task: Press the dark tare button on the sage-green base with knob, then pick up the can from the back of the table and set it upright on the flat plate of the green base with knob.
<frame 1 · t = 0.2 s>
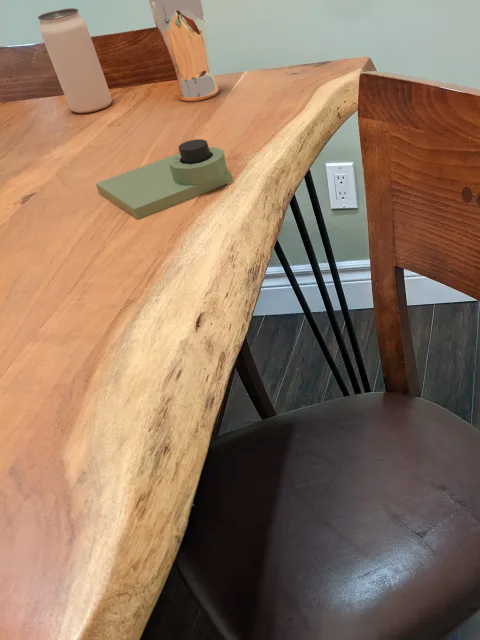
beer glass: (200, 96, 104), on the table
can: (92, 108, 106), on the table
tare button: (195, 152, 77), point 3 cm above the table, slide at 0.1 cm
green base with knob: (165, 188, 80), on the table
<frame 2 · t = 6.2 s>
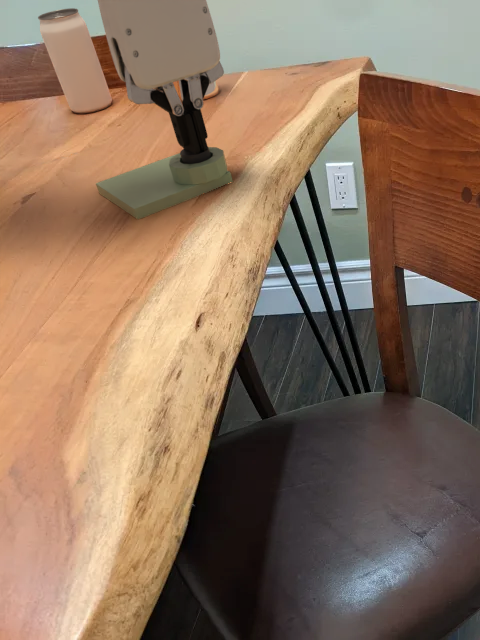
hand: (195, 149, 77), 4 cm above the table, tool pointing down, fingers closed
tare button: (196, 158, 77), point 3 cm above the table, slide at -0.5 cm, touching gripper
everything else where it was.
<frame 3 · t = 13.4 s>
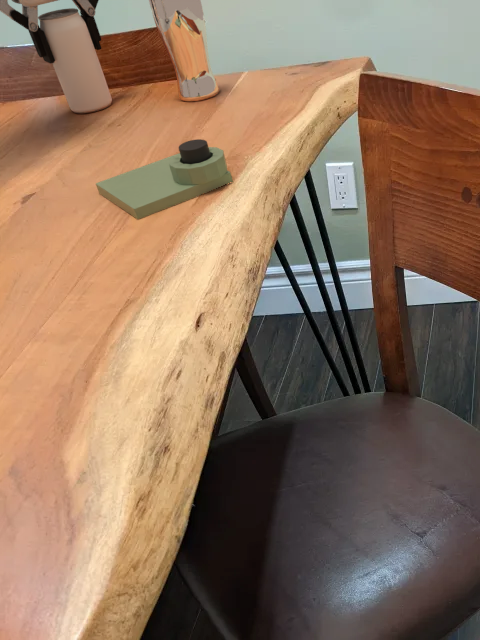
hand: (72, 53, 101), 7 cm above the table, tool pointing down, fingers closed on can, 6 cm apart
can: (92, 108, 106), on the table, touching gripper
tare button: (195, 152, 77), point 3 cm above the table, slide at 0.1 cm
everything else where it was.
when the fingers open (8 cm above the table, at t = 22.2 s): can stays where it is, resting on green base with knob.
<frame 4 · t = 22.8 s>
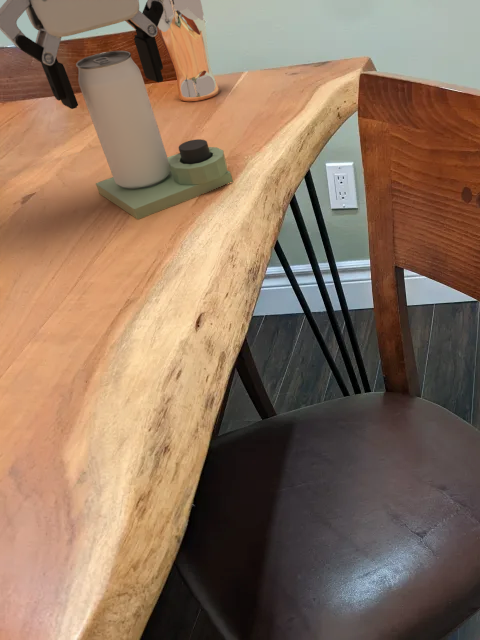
hand: (113, 92, 73), 10 cm above the table, tool pointing down, fingers open, 9 cm apart
can: (144, 180, 79), point 1 cm above the table, touching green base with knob
everything else where it was.
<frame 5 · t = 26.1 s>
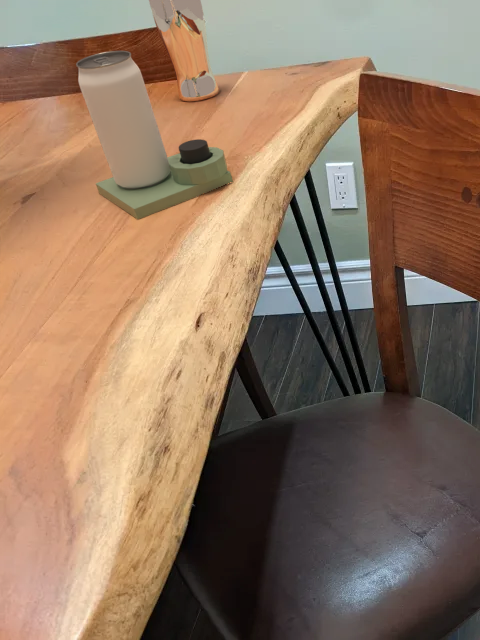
nothing on the table moved.
at the end: tare button pushed in 1.1 cm at the most during the clip, back to where it started at the end; can inside the target area on the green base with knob (2.1 cm from its centre), point 1.0 cm above the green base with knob's base; can tilted 0° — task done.
